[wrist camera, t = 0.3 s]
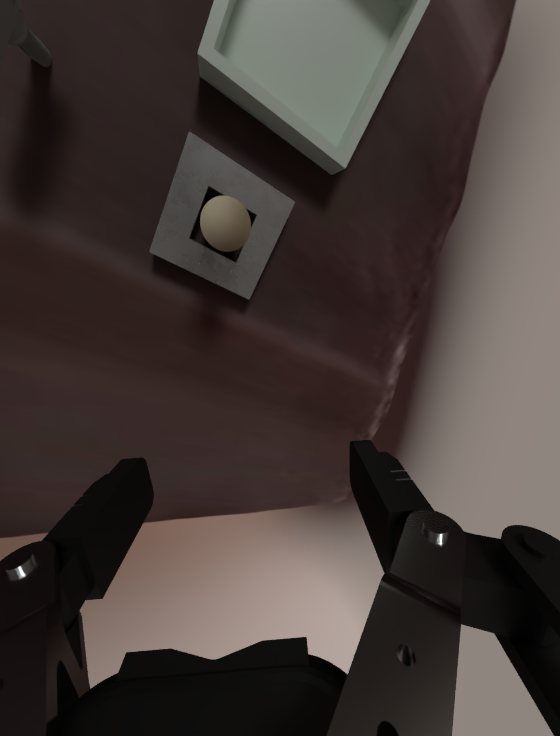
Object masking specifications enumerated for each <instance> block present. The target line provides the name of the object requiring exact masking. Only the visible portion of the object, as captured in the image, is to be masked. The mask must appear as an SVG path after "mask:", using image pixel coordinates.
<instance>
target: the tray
mask: <svg viewBox="0 0 560 736" xmlns="http://www.w3.org/2000/svg"><path fill="white" fill-rule="evenodd" d="M429 2H430V0H214V3H213V6H212V9H211V12H210V15H209V18H208V22H207V25H206V28H205V31H204V34H203V37H202V41H201V44H200V47H199V50H198V63H199V73H200V77H201V78H203V79H204V80H205V81H207V82H208V83H209V84H211V85H212V86H213V87H215V88H216V89H217V90H219V91H220V92H221V93H223V94H224V95H225V96H227V97H228V98H229V99H231V100H232V101H233V102H235V103H236V104H237V105H239V106H240V107H241V108H243V109H244V110H245V111H247V112H248V113H249V114H251V115H252V116H253V117H255V118H256V119H257V120H259V121H260V122H261V123H263V124H264V125H265V126H267V127H268V128H269V129H271V130H272V131H273V132H275V133H276V134H277V135H279V136H280V137H281V138H283V139H284V140H285V141H287V142H288V143H289V144H291V145H292V146H293V147H295V148H296V149H297V150H299V151H300V152H301V153H303V154H304V155H305V156H307V157H308V158H309V159H311V160H312V161H313V162H315V163H316V164H317V165H319V166H320V167H321V168H323V169H324V170H325V171H327V172H328V173H329V174H331V175H333V174H335V173H337V172H339V171H341V170H343V169H345V168H346V166H347V164H348V162H349V160H350V158H351V156H352V154H353V152H354V150H355V148H356V146H357V144H358V143H359V141H360V139H361V137H362V135H363V133H364V131H365V129H366V127H367V125H368V123H369V121H370V119H371V117H372V115H373V113H374V111H375V109H376V107H377V105H378V103H379V101H380V99H381V97H382V95H383V93H384V91H385V89H386V87H387V85H388V83H389V81H390V79H391V77H392V75H393V73H394V71H395V69H396V67H397V65H398V63H399V61H400V59H401V57H402V55H403V53H404V51H405V49H406V47H407V45H408V43H409V41H410V40H411V38H412V36H413V34H414V32H415V30H416V28H417V26H418V24H419V22H420V20H421V18H422V16H423V14H424V12H425V10H426V8H427V6H428V4H429Z"/></svg>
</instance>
